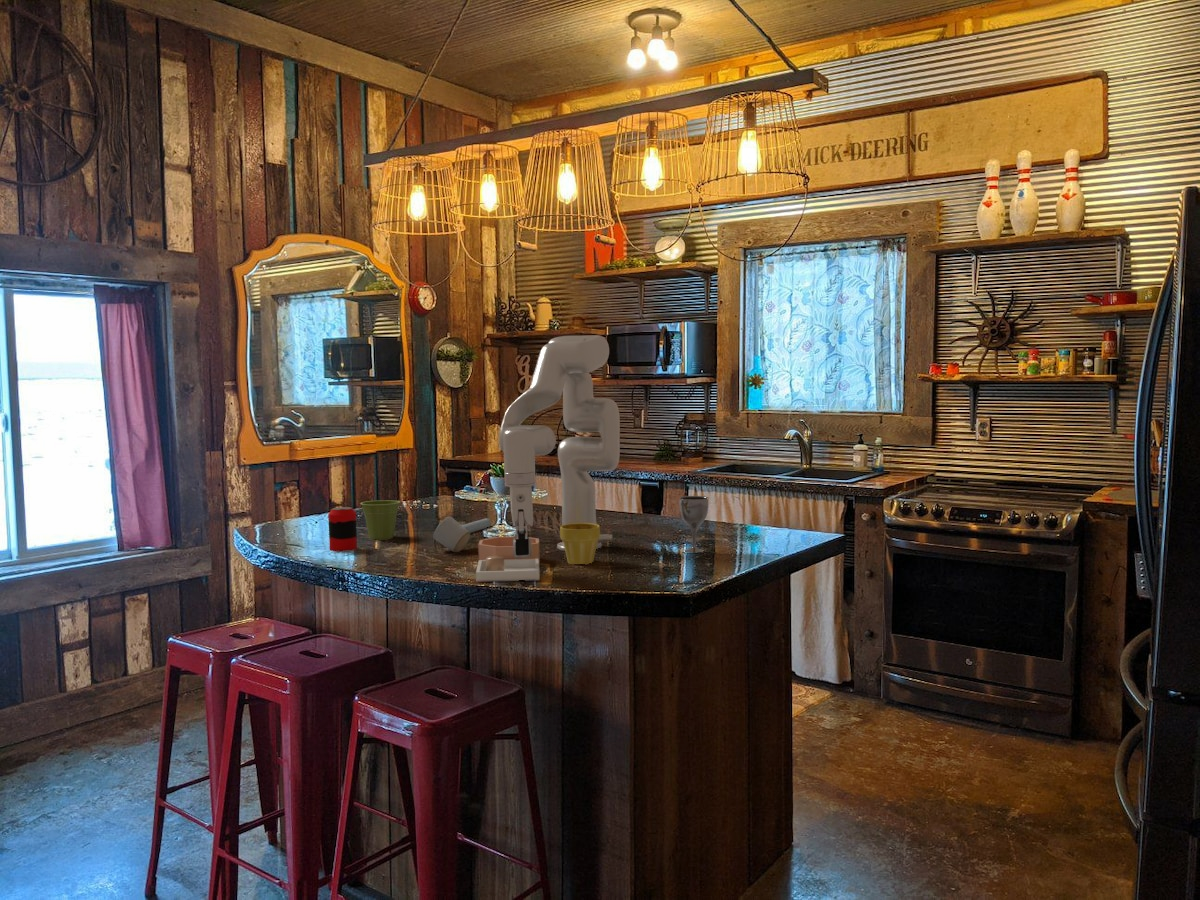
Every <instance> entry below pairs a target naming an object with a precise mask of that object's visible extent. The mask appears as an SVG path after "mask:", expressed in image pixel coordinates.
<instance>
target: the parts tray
mask: <svg viewBox="0 0 1200 900" xmlns="http://www.w3.org/2000/svg"><path fill="white" fill-rule="evenodd" d="M475 579H476V580H475V582H476V583H478V582H479V583H481V582H484V583H485V582H514V581H515V582H518V581H519V580H525V581H540V563H539V560H538V559H504V571H486V560H479V559H478V562H477V566H476V570H475ZM519 582H520V581H519Z"/></svg>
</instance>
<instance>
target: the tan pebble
mask: <svg viewBox="0 0 1200 900" xmlns="http://www.w3.org/2000/svg"><path fill="white" fill-rule="evenodd" d="M486 571H504V557H503V556H489V557H486Z"/></svg>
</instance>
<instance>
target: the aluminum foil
mask: <svg viewBox="0 0 1200 900" xmlns="http://www.w3.org/2000/svg"><path fill="white" fill-rule="evenodd" d="M460 525H461V526H463V527H464V528H465V529H466V530H467V531H468V532H469V533H470V534H471V533H475V532H479V531H481V530H484V529H488V528H490V526H492V521H491V519H489V518H487V517H486V518H482V519H480V520H479V519H478V520H476V521H472V522H468V523H465V524H460ZM487 527H488V528H487Z"/></svg>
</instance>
